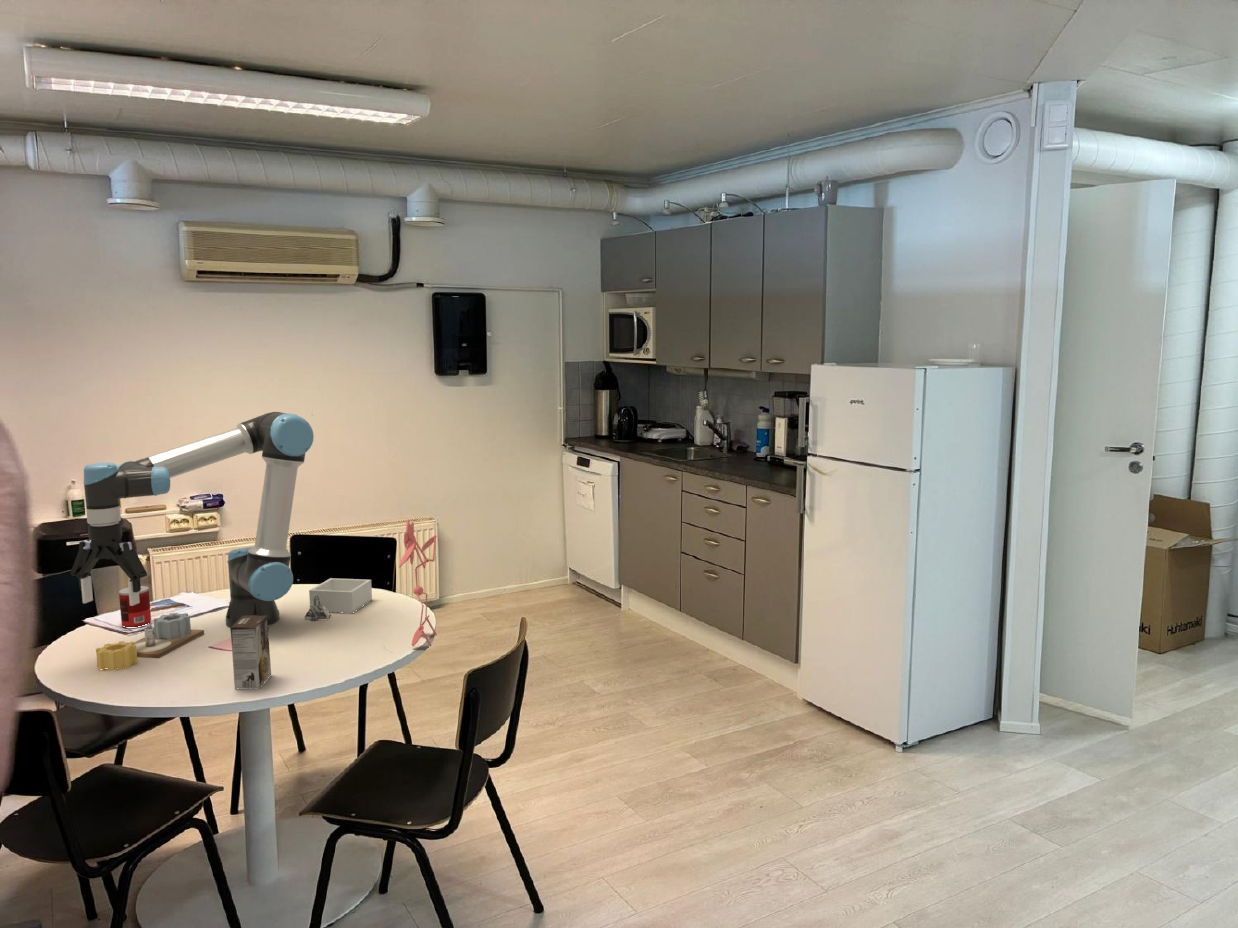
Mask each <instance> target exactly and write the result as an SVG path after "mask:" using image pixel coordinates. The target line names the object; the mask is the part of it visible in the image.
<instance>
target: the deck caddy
mask: <svg viewBox="0 0 1238 928" xmlns="http://www.w3.org/2000/svg"><path fill="white" fill-rule="evenodd" d="M308 592H309V593H308V594H309V608H310V607H311V606H312V605H314V601H313V600H314V598H315V596H316V595H318V596H319V598H320V599H321V600H320V605H324V606H325V608H326V609H328V611H329V612H330V613H331V614H337V613H336V612H339V613H338V614H345V613H353V612H355V611H356V610H358V609H359V610H361V609H362V608H363V607H362V606H363V605H365V606H366V605H368V604H369V603H371V602H372V601H373V591H372V579H359V578H357V579H356V578H355V579H354V578H332V577H330V578H328V579H327V580H325V581H324V582H321V583H319V584H318V585H316V586H314V587H313V588H311V589H309V590H308ZM316 599H317V597H316ZM370 601H371V602H370ZM368 602H369V603H368ZM367 603H368V604H367ZM316 605H318V601H316ZM314 607H315V608H316V606H314ZM319 607H320V608H321V607H322V606H319ZM361 607H362V608H361ZM360 608H361V609H360ZM311 609H313V608H311ZM322 609H323V608H322ZM317 610H318V608H317ZM359 610H358V611H359ZM318 612H319V611H318ZM332 612H334V613H332ZM341 612H343V613H341ZM356 612H357V611H356ZM356 612H355V613H356ZM353 614H354V613H353Z"/></svg>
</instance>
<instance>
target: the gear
mask: <svg viewBox="0 0 1238 928" xmlns="http://www.w3.org/2000/svg"><path fill="white" fill-rule="evenodd" d="M153 625H154V631H155V636H156V638H157V639H167V640H171V639H172V638H177V637H180V638H182V637H185V635H186V634H190V633H191V630H192V627H191V616H190V615H189V613H187V612H184V613H178V612H170V613H169V614H161V615H160V617H155V618H154V619H153Z"/></svg>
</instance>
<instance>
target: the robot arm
mask: <svg viewBox="0 0 1238 928" xmlns="http://www.w3.org/2000/svg"><path fill="white" fill-rule="evenodd" d="M314 436H315V435H314V431H313V428H312V426H311V424H310V423H309V422H308V421H307V420H306V419H305V418H304V417H302V416H299V415H298V414H294V413H285V412H281V411H271V412H267V413H264V414H261V415H258V416H256V417H252V418H251V419H248V420H246V421H242V422H239V423H237V425H236V427H235V428H232V429H229V430H226V431H223V432H220V433H217V434H213V435H212V436H208V437H206V438H205V437H204V438H202V439H198V440H196V441H193V442H189V443H187V444H184V445H180V446H178V447H175V448H171V449H168V450H165V451H161V452H160V453H156V454H153V455H150V456H147V457H145V458H140V459H138V460H137V459H136V460H134V461H133V460H129V461H128V460H127V461H124V462H122V463H120V464H118V466H117V464H116V463H114V462H97V463H90V464H89V463H88V464H87V465H86V466H84V468H83V487H84V489H83V490H84V498H85V510H86V523H87V524H88V526H87V532H88V539H85V540H82V541H80V542H79V543H78V551H77V554H76V557H75V560H74V562H73V566H72V568H71V570H70V575H71V576H72V577H74V576H75V577H76V578H77V579H78V584H79V585H78V587H79V590H80V591H81V598H82V604H87V603H90V602H92V601H94V598H93V595H94V594H93V586H92V584H93V583H92V575H90V573H91V571H92V570H93V568H94V567H95V566H96V564H97V562H98V561H99V560H112V561H113V562H115V563H116V564H117V566H119V568H120V569H121V570H122V571H123V572H124V573H125V575H126V576H127V577H128V578H129V580H127V585H128V586H127V588H128V589H129V602H130V606H133V605H135V604H138V603H140V600H139V591H140V590H141V586H142V585H141V579H143V578H145V577H147V576H148V572H147V570H146V568H145V567H144V565H143V563H142V561H141V559H140V558H139V555H138V553H137V551H136V549H135V545H134V541H132V540H131V541H128V542H127V541H126V542H123V541H122V536H123V527H122V523H121V522H120V521H121V520H122V513H121V503H120V501H121V499H128V498H141V497H150V496H151V497H152V496H153V497H154V496H155V497H156V496H160V495H165V494H168V493H169V491H170V490H171V479H172V478H174V477H177V476H181V475H183V474H186V473H190V472H191V471H195V470H197V469H201V468H204V467H206V466H209V465H213V464H216V463H218V462H221V461H224V460H227V459H230V458H232V457H236V456H239V455H242V454H244V453H245V454H249V455H252V454H255V453H258V452H262V453H261V458H262V460H263V461H264V462H265V464H266V466H265V471H264V479H263V486H262V491H261V493H262V494H261V498H260V505H259V506H260V507H259V512H258V514H259V515H258V519H257V521H258V522H257V526H256V527H257V529H256V534H255V542H254V545H253V546H246V547H240V548H236V549H232V550H230V551H229V552H228V554H227V565H228V566H227V568H228V579H229V580H228V583H229V593H230V599H229V603H228V604H229V605H228V607H227V611H226V615H225V625H226V627H227V628H230V629H231V626H233V625H234V624H235V623H236V622H237V621H238V620H239V619H240V618H241V617H242V616H250V615H257V616H266V615H267V621H268V626H271V625H273V624H275V623H277V622H279V620H280V618H281V617H280V610H279V608H278V605H277V603H276V602H275V601H277V600H280V599H282V598H283V597H284V596H285V595H287V594H288V592H289V591H290V590H291V588H292V586H293V584H294V575H293V572H292V569H291V568H290V563H291V555H292V553H291V552H289V550H288V549H287V545H288V536H289V530H290V524H291V523H290V522H291V517H292V510H293V502H294V496H295V491H296V489H295V488H296V483H297V476H298V469H299V467H300V466H302V465H303V464H304V463H305V458H306V453H307V452H308V451H309V450H310V449H311V447H312V446H313V443H314V438H315V437H314ZM90 550H91V553H90ZM89 554H90V555H89Z"/></svg>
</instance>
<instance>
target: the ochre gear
mask: <svg viewBox="0 0 1238 928" xmlns="http://www.w3.org/2000/svg"><path fill="white" fill-rule="evenodd" d="M135 642H136V641H130V642H125V641H124V640H122V641H118V642H115V643H105V644H104V645H103V646H102V647H97V648H96V649H95V653H96V654H95V655H96V662H97V663H96V664H97V665H96V666H97V667H98V670H99V669H104V668H108V669H110V670H115V669H116V670H118V669H117V668H121V669H125V668H126V669H128V667H129V668H130V667H131V666H132V665H136V664H138V663H137V662H138V657H137V649H136V645H135ZM123 667H124V668H123ZM110 670H109V671H110ZM116 670H115V671H116Z"/></svg>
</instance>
